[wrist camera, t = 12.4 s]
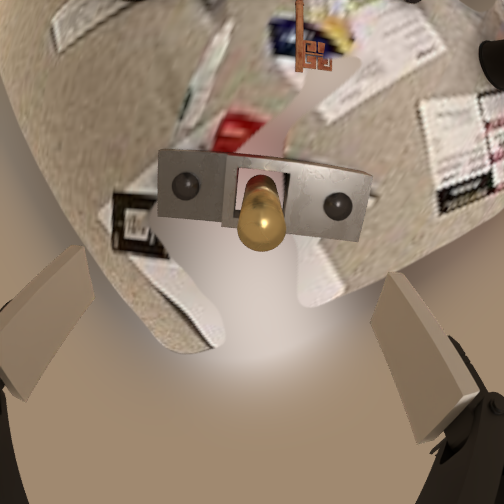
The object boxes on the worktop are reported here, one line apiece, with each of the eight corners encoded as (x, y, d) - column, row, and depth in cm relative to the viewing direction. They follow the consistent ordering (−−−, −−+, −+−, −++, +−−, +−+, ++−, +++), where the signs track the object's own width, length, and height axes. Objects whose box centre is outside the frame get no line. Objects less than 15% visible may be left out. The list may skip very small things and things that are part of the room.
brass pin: (247, 173, 32) (239, 203, 20) (278, 176, 32) (289, 209, 20) (244, 202, 34) (235, 249, 22) (274, 206, 34) (282, 253, 22)
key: (330, 76, 27) (328, -22, 21) (332, 75, 26) (330, -25, 20) (280, 70, 27) (281, -30, 20) (282, 69, 26) (283, -33, 20)
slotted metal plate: (162, 148, 31) (152, 152, 28) (363, 171, 31) (374, 177, 28) (161, 212, 34) (151, 222, 31) (351, 232, 35) (359, 244, 32)
